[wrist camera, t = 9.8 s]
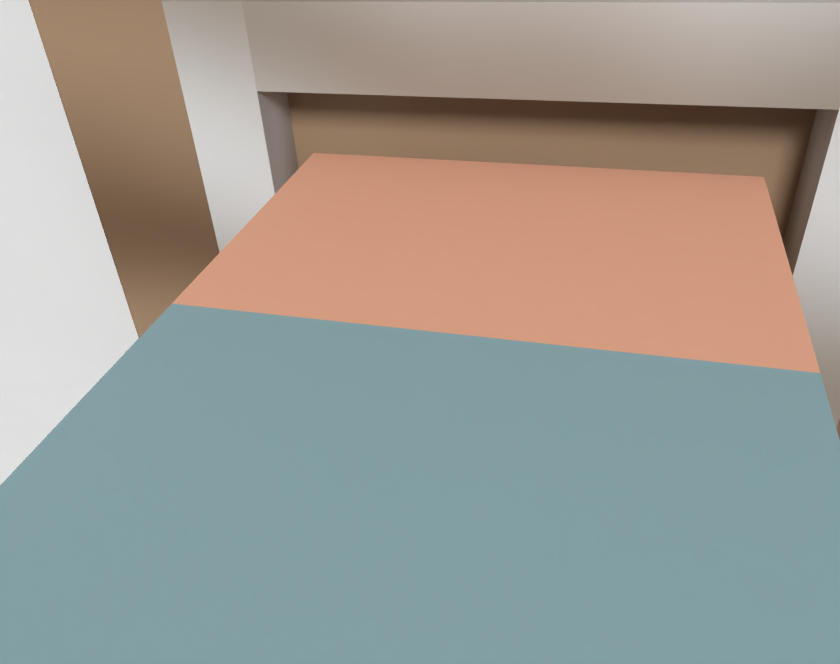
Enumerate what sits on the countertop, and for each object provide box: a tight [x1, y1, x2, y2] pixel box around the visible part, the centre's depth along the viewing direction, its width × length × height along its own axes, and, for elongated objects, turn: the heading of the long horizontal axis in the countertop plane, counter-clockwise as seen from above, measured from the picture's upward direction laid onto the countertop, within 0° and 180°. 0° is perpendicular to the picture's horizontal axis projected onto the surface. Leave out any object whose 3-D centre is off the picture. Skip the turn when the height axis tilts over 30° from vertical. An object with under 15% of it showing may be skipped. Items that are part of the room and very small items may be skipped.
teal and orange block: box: [0, 153, 840, 664], centre depth 9 cm, size 6×6×8 cm
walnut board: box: [29, 0, 840, 439], centre depth 13 cm, size 16×16×2 cm
